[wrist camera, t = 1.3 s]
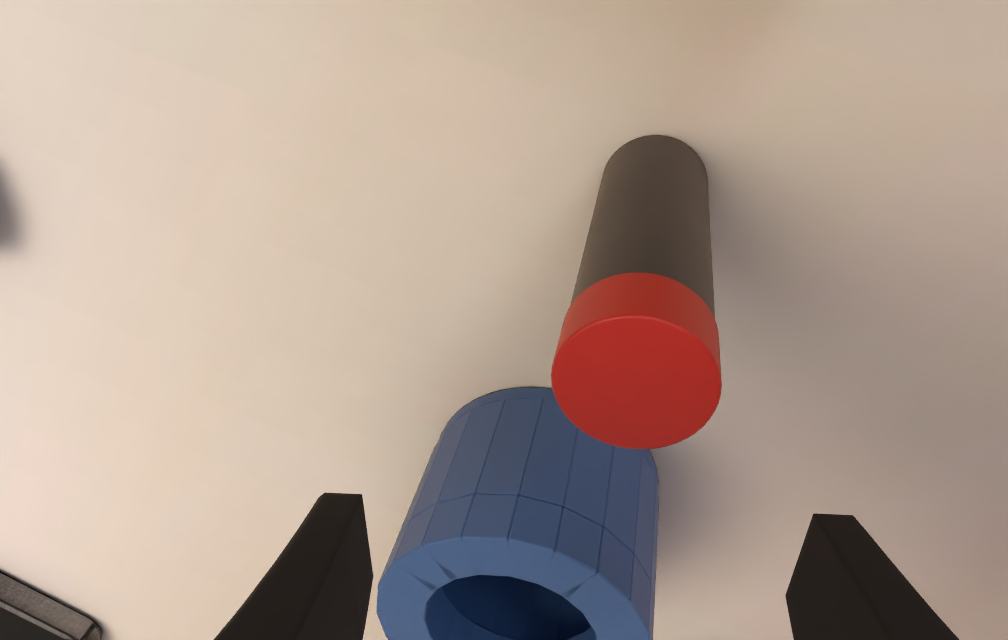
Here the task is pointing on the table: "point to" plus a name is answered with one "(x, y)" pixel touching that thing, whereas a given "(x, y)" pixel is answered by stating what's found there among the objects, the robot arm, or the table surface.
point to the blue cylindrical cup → (525, 532)
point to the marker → (643, 304)
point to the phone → (39, 616)
